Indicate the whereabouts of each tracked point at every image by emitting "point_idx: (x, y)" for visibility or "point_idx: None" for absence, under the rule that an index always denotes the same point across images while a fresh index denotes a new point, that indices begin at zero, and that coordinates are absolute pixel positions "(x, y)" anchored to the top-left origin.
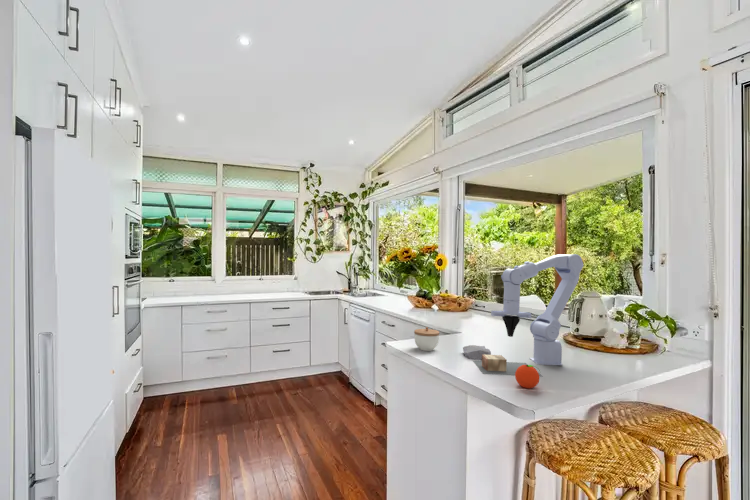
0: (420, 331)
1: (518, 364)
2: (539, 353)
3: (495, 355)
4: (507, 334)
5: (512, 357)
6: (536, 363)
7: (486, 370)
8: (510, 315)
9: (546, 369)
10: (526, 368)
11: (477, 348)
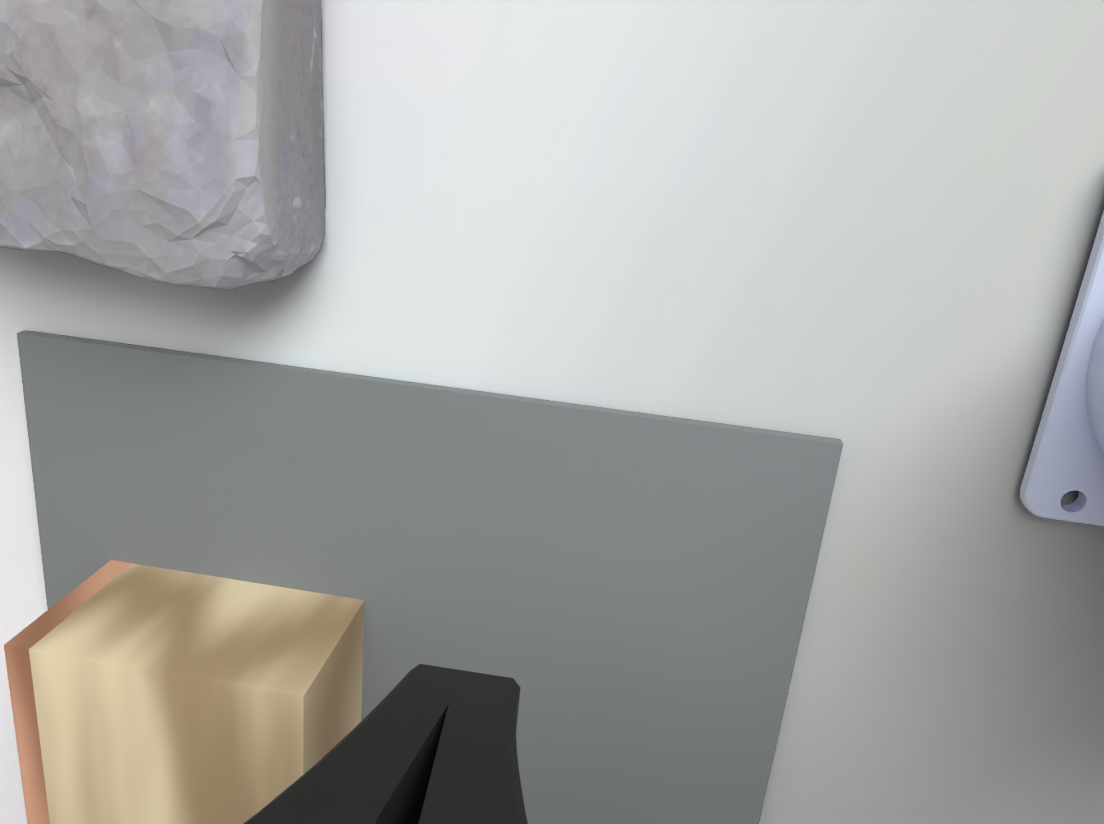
0: None
1: (668, 528)
2: None
3: (203, 704)
4: (400, 684)
5: (822, 28)
6: (1024, 481)
7: None
8: None
9: (1000, 706)
10: None
11: (27, 60)
